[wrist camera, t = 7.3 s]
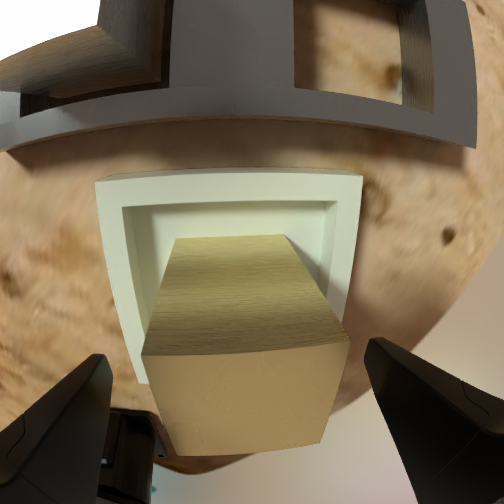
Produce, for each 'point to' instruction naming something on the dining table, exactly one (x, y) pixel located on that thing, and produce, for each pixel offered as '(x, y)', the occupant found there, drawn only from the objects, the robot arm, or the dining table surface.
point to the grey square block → (79, 45)
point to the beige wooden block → (242, 347)
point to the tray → (222, 227)
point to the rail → (275, 78)
